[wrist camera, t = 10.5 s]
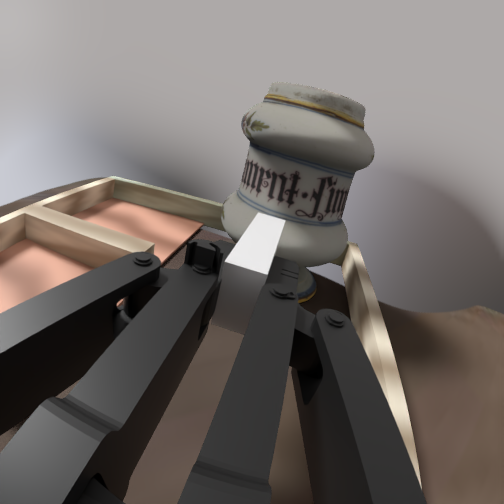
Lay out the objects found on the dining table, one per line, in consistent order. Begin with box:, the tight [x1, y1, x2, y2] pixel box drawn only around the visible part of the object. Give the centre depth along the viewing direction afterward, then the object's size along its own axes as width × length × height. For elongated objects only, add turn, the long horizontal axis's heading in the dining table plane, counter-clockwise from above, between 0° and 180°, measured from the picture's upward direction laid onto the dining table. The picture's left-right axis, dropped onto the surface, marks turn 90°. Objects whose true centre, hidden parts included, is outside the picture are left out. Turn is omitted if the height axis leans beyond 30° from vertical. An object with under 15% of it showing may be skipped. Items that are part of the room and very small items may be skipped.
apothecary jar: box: [221, 82, 374, 303], centre depth 27 cm, size 12×12×18 cm
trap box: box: [0, 176, 422, 489], centre depth 24 cm, size 32×34×3 cm
